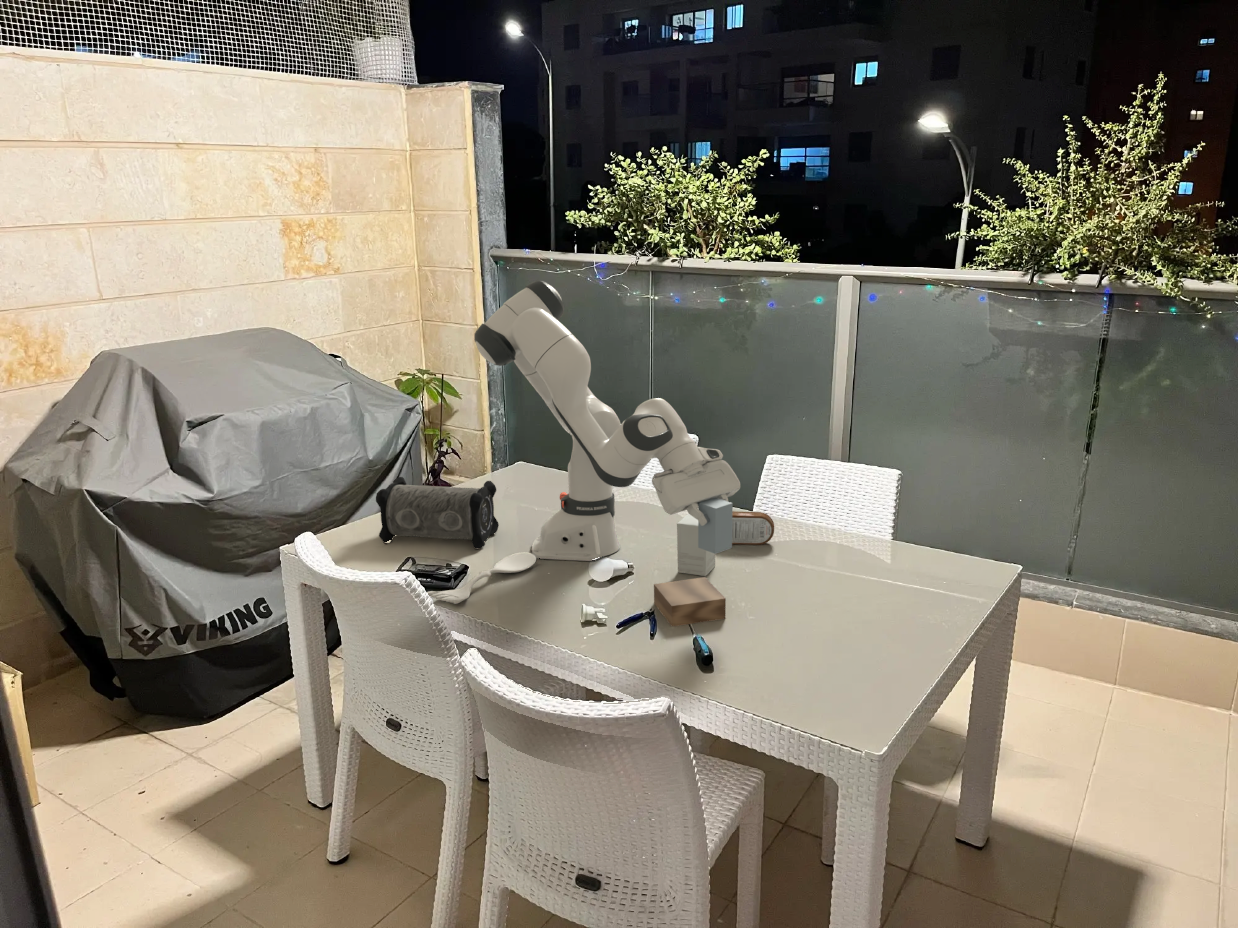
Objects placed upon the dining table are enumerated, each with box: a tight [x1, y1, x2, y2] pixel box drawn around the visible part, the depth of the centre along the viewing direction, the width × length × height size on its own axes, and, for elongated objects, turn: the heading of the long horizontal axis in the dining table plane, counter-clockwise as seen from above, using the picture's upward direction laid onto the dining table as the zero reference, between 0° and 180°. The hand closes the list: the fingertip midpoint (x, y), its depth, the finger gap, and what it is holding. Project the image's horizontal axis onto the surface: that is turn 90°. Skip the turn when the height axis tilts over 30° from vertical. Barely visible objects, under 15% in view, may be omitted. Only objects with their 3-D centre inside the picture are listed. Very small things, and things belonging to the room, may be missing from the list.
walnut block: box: [653, 576, 727, 627], centre depth 206 cm, size 12×12×5 cm
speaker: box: [375, 476, 500, 549], centre depth 250 cm, size 15×29×15 cm, turn 79°
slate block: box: [698, 498, 734, 555], centre depth 200 cm, size 5×5×10 cm
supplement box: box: [676, 513, 716, 577], centre depth 227 cm, size 7×7×13 cm
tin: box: [732, 510, 775, 546], centre depth 243 cm, size 15×3×8 cm, turn 84°
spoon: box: [426, 551, 537, 605], centre depth 222 cm, size 9×32×4 cm, turn 147°
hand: (717, 520), depth 199 cm, fingers closed on slate block, 5 cm apart
